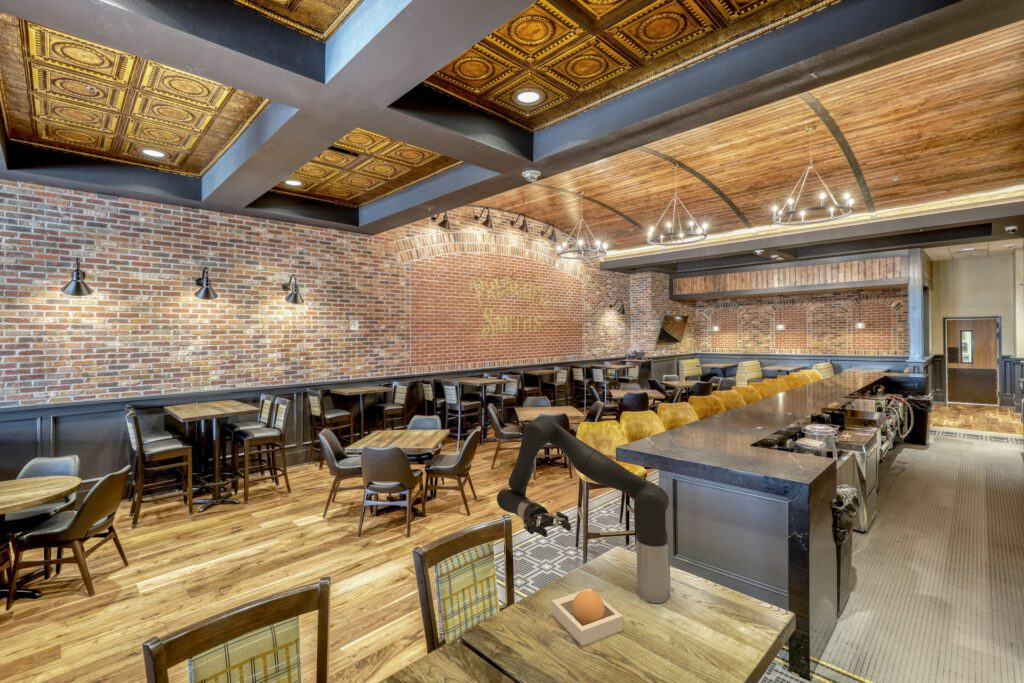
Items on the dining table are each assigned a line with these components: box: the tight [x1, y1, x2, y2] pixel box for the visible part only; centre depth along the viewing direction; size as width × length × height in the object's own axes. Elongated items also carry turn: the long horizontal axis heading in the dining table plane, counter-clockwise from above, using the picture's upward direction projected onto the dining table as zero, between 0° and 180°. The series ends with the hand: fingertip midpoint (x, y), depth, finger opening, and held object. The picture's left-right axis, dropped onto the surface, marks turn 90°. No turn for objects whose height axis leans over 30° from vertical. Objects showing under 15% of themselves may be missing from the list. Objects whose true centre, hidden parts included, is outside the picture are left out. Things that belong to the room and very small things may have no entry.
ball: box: [572, 589, 605, 626], centre depth 125 cm, size 9×9×9 cm
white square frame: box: [551, 588, 624, 647], centre depth 127 cm, size 14×15×4 cm
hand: (558, 530), depth 139 cm, fingers open, 8 cm apart
